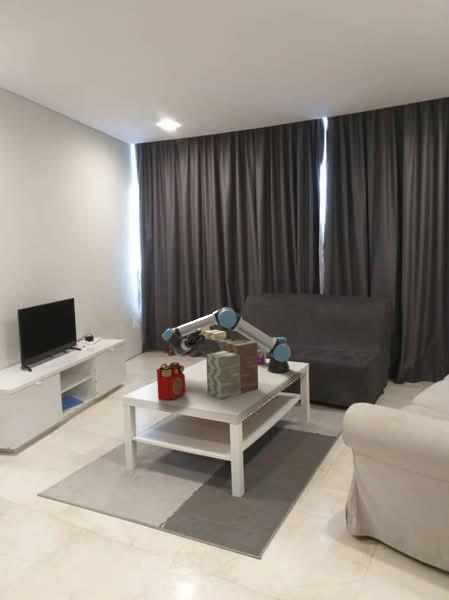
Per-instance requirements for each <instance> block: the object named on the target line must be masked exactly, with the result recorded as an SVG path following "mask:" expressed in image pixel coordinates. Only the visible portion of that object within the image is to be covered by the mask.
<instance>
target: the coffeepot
mask: <svg viewBox="0 0 449 600" xmlns="http://www.w3.org/2000/svg"><path fill="white" fill-rule="evenodd" d="M235 340H236V339H234V338H232V339H227V338H226V339H221V340H216V343H217V345H218V347H219V350H220V351H225V342H229V341H235ZM220 351H219V352H220Z"/></svg>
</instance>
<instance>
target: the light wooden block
mask: <svg viewBox="0 0 449 600" xmlns="http://www.w3.org/2000/svg"><path fill="white" fill-rule="evenodd" d="M199 330H200V328H199V329H196V332H198V331H199ZM201 335H203V336H205V337H204V339H206V340H207V339H208V340H212V341H216V342H217V341H219V340H223V339H227V331H223V330H219V329H212V330H210V331H209V330H205V332H203V333H202V334H201Z"/></svg>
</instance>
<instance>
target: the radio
mask: <svg viewBox="0 0 449 600" xmlns="http://www.w3.org/2000/svg"><path fill="white" fill-rule="evenodd" d="M184 371H185V368H184V365H181V364H180V363H179V362H176V361H175V362H171V363H169V364H167V363H162V364H161V365H160V367H158V368H156V376H157V380H156V381H157V399H158V398H159V399H158V400H165V401H170V400H174V399H176V398H179V397H181V396H183V395H185V394H186V376H185V375H186V374H185V373H183V372H184Z"/></svg>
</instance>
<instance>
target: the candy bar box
mask: <svg viewBox="0 0 449 600" xmlns="http://www.w3.org/2000/svg"><path fill="white" fill-rule="evenodd" d="M257 352H258V365H261V364H262V365H265V364H267V352H266V349H264V348H263V347H261V346H259V345H258V344H257Z"/></svg>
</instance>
